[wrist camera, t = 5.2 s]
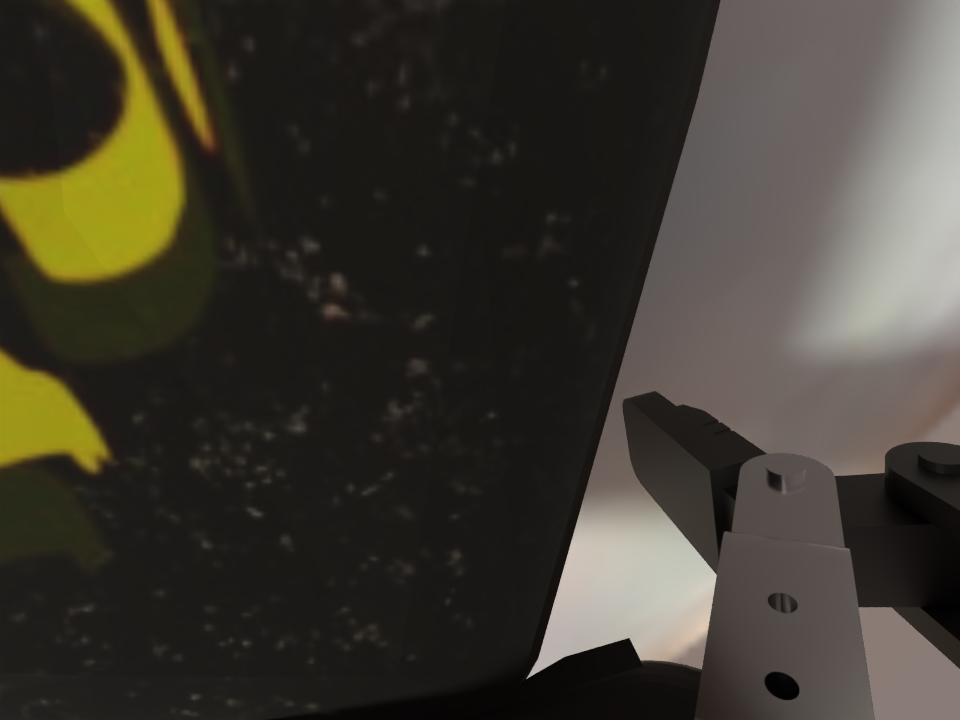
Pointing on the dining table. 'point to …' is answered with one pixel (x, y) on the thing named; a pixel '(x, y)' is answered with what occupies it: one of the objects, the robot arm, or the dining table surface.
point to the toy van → (313, 339)
